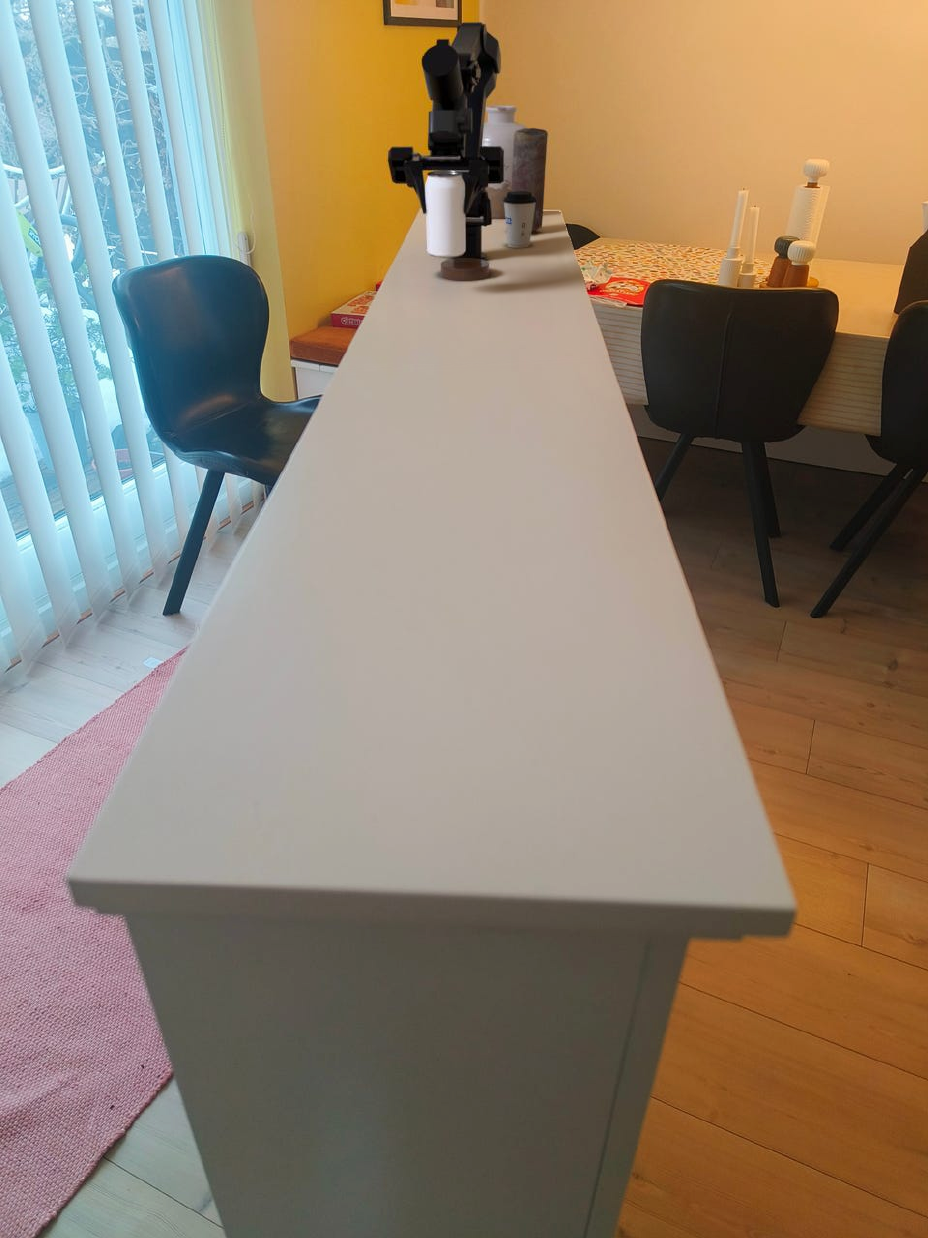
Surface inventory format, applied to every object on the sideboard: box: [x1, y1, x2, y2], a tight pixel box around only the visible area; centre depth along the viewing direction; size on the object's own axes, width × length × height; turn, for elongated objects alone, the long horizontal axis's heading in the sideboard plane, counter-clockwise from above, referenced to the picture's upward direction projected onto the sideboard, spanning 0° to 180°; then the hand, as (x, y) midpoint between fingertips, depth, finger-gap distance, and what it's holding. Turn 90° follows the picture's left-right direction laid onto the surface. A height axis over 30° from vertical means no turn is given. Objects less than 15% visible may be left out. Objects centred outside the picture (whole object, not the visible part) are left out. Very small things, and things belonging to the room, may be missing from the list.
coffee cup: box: [503, 191, 537, 249], centre depth 170 cm, size 7×7×10 cm
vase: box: [481, 105, 528, 219], centre depth 195 cm, size 16×16×23 cm
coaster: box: [440, 258, 490, 282], centre depth 152 cm, size 9×9×2 cm
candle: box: [511, 127, 549, 233], centre depth 179 cm, size 8×7×20 cm
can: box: [424, 170, 466, 259], centre depth 134 cm, size 6×6×12 cm
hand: (444, 212), depth 132 cm, fingers closed on can, 6 cm apart
